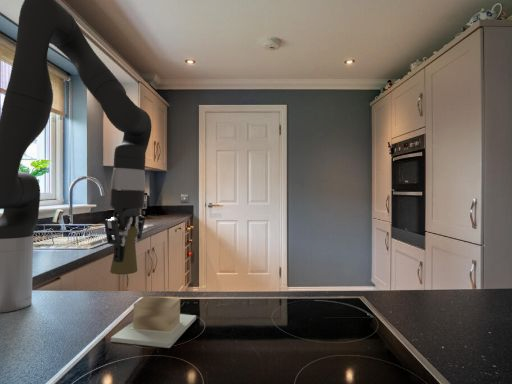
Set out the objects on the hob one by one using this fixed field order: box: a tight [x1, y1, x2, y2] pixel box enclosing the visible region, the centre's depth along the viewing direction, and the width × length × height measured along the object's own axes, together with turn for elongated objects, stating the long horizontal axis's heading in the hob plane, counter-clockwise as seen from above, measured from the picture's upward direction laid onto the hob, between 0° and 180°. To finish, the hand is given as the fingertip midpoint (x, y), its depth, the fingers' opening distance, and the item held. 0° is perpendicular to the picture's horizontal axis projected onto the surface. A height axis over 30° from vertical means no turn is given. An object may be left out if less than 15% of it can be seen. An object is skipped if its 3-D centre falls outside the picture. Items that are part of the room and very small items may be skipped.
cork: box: [109, 226, 139, 275], centre depth 76 cm, size 6×6×11 cm
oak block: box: [132, 296, 181, 332], centre depth 66 cm, size 8×5×5 cm, turn 82°
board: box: [110, 313, 197, 349], centre depth 66 cm, size 12×14×1 cm
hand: (124, 259), depth 76 cm, fingers closed on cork, 4 cm apart
